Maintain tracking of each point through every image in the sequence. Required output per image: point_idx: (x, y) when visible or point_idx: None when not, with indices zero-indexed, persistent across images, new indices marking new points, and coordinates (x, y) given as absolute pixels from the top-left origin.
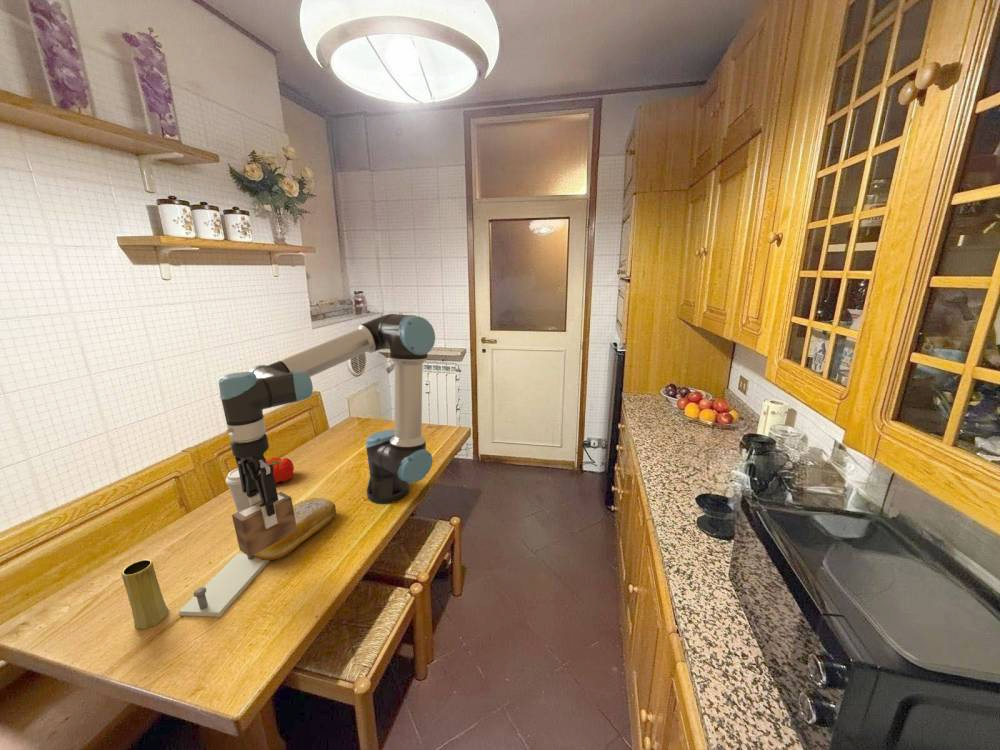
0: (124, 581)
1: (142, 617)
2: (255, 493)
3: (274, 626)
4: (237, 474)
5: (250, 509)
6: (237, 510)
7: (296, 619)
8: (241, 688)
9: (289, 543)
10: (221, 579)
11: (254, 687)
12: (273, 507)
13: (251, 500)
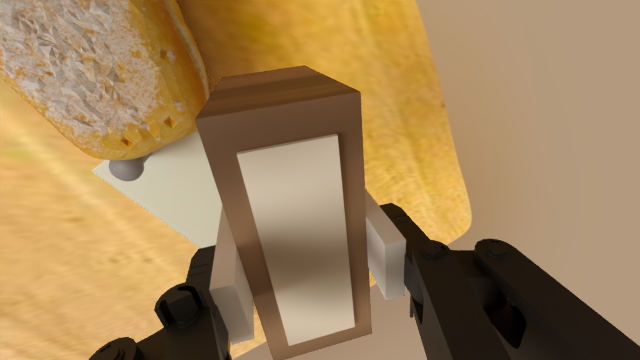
0: None
1: None
2: (219, 324)
3: (398, 166)
4: None
5: (304, 307)
6: None
7: (418, 134)
8: (451, 221)
9: (191, 58)
10: (194, 216)
11: (464, 210)
12: (417, 229)
13: (251, 321)
